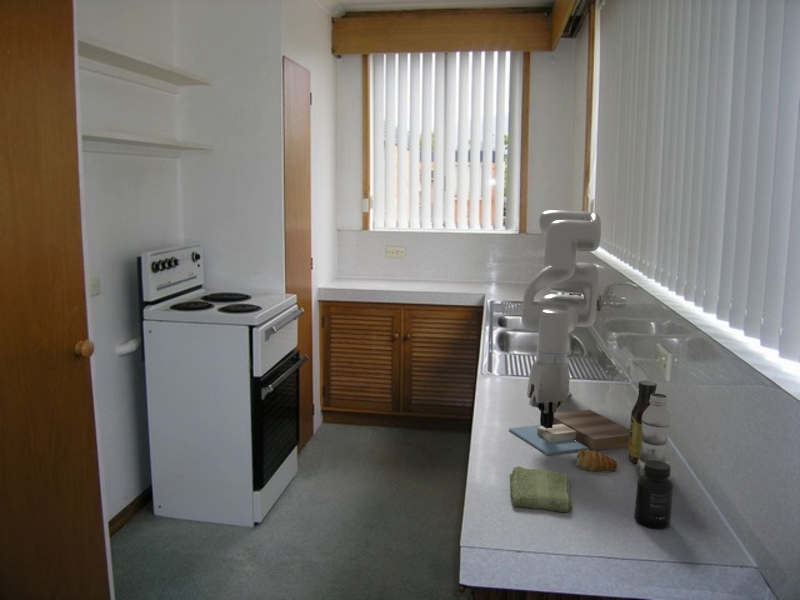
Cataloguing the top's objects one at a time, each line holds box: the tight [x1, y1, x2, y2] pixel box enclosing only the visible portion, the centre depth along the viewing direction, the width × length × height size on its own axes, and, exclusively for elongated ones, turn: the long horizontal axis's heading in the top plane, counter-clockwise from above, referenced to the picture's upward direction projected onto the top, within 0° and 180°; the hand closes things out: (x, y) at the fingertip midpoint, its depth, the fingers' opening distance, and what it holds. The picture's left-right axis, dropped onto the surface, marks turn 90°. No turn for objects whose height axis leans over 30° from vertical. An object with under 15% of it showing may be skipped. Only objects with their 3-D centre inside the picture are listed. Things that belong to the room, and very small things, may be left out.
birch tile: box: [537, 424, 577, 442], centre depth 185 cm, size 6×8×2 cm
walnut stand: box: [553, 409, 630, 452], centre depth 189 cm, size 20×14×3 cm
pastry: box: [576, 449, 618, 473], centre depth 167 cm, size 9×7×4 cm
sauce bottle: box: [627, 380, 658, 464], centre depth 170 cm, size 6×6×20 cm
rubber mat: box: [508, 424, 589, 456], centre depth 184 cm, size 18×12×1 cm, turn 23°
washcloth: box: [509, 465, 573, 513], centre depth 152 cm, size 13×18×3 cm
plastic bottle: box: [635, 392, 673, 478], centre depth 159 cm, size 6×7×20 cm
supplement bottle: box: [633, 460, 675, 530], centre depth 140 cm, size 7×7×12 cm
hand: (546, 426), depth 183 cm, fingers closed
